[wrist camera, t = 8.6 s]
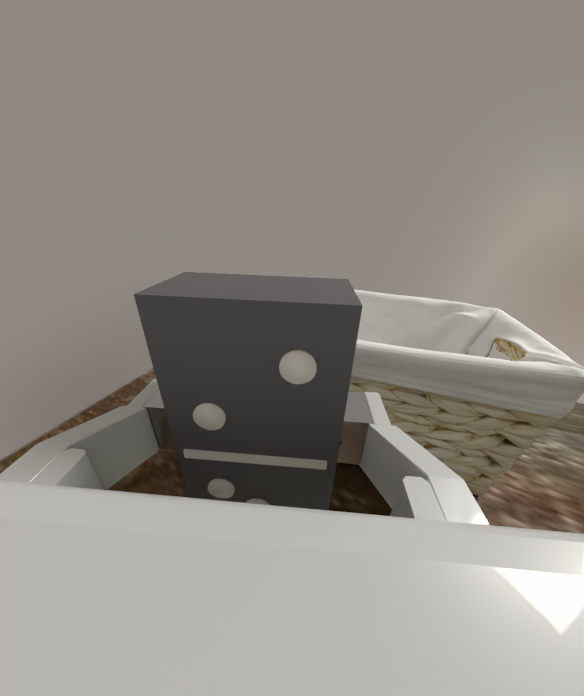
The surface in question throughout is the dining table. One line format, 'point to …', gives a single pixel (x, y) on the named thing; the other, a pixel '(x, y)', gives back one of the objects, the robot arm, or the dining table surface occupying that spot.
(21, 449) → the dining table surface
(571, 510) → the dining table surface
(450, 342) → the storage basket
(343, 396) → the domino
